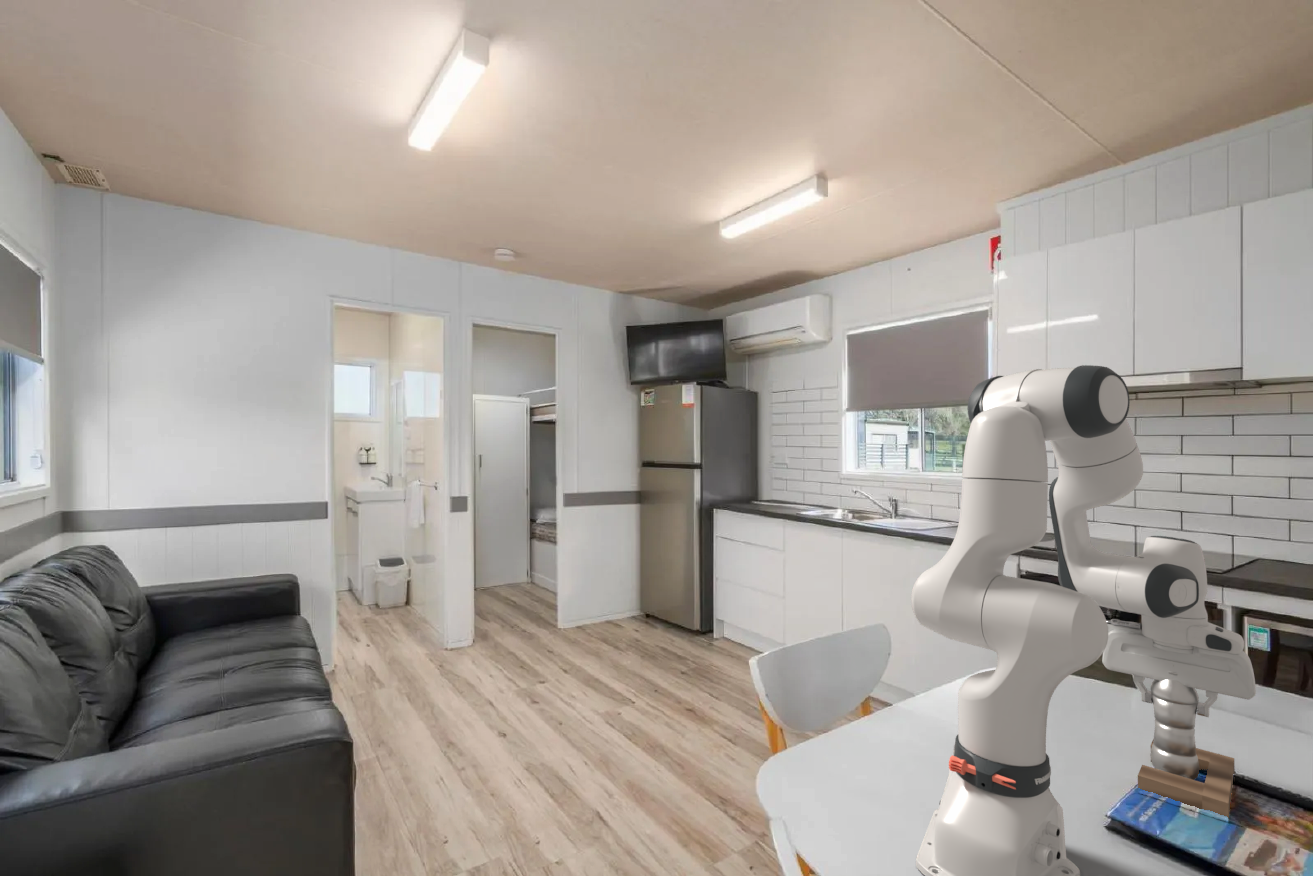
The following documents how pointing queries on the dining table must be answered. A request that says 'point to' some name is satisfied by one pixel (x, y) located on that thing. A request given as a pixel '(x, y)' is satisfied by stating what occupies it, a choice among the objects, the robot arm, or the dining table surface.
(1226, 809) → the notched board
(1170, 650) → the robot arm
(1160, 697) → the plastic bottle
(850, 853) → the dining table surface
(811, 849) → the dining table surface
